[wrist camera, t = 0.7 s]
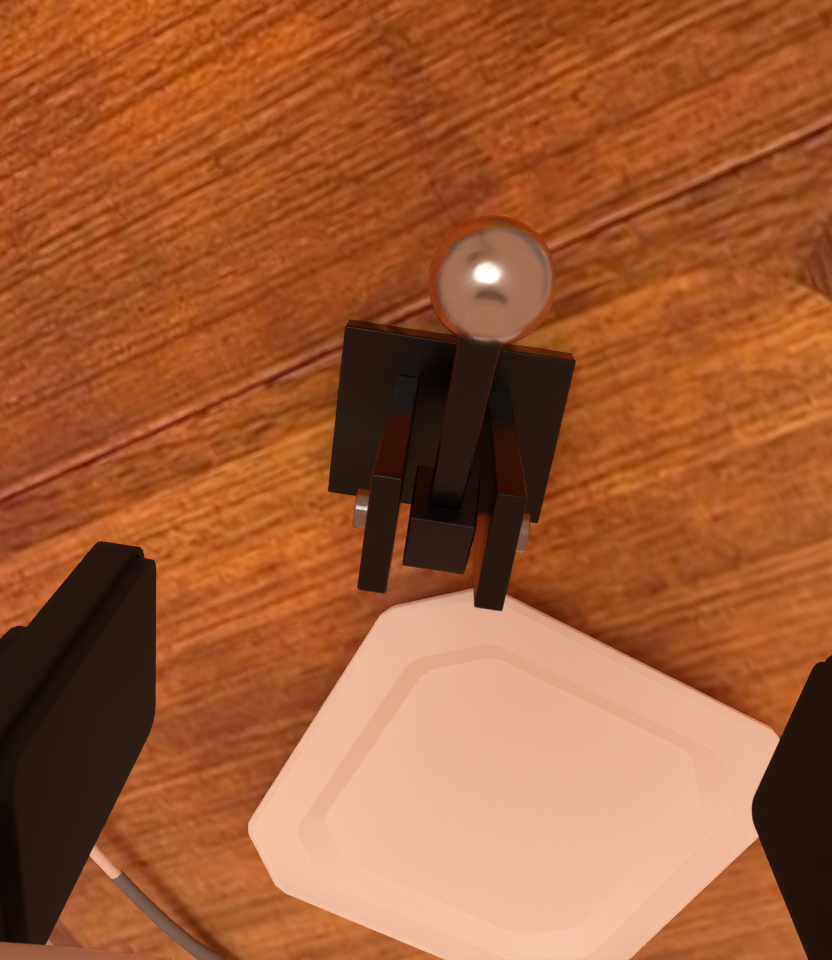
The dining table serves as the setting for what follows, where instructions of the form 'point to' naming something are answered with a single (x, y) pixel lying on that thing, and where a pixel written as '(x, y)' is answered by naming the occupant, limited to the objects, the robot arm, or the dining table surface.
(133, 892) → the ladle
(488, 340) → the lever
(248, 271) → the dining table surface
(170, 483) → the dining table surface
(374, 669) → the plate
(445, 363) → the switch bracket
